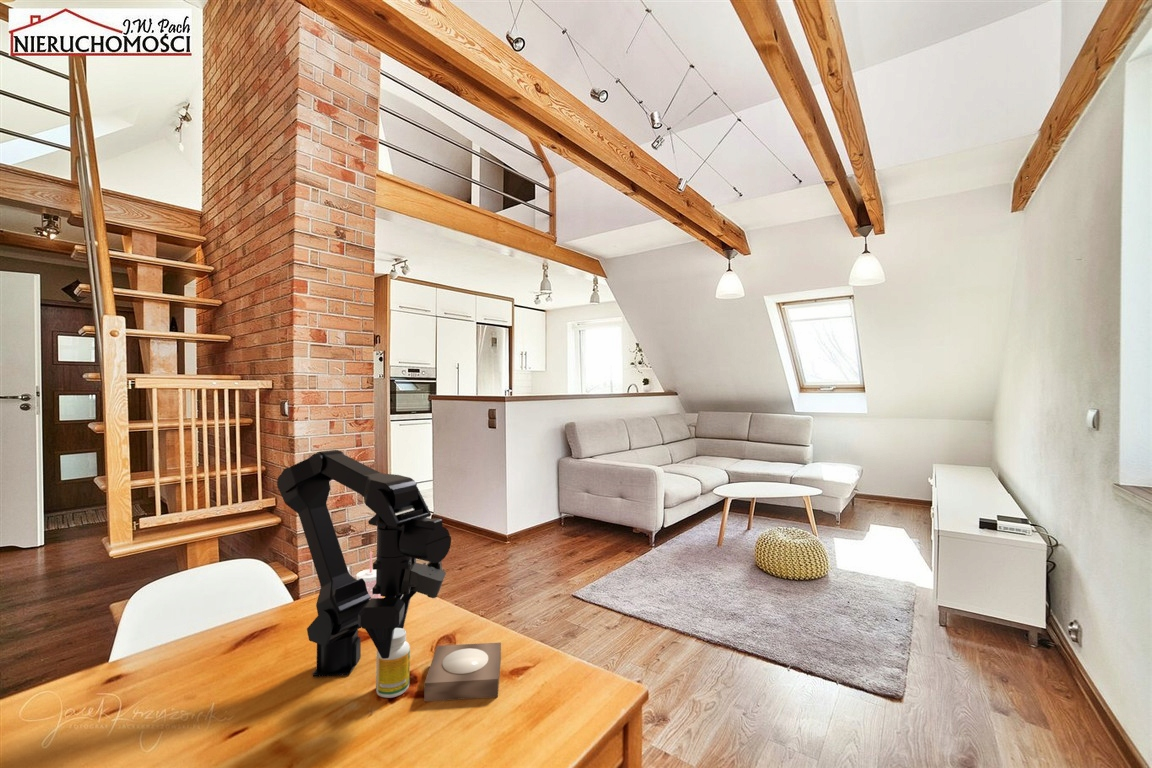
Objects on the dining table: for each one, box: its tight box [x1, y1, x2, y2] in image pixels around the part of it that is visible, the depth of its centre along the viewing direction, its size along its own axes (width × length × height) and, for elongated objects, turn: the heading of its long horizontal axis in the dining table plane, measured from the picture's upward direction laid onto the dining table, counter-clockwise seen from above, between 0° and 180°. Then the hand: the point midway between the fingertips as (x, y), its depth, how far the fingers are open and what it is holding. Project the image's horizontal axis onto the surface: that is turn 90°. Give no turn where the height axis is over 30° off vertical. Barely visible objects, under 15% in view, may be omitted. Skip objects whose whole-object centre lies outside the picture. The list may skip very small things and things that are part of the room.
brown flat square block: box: [423, 642, 502, 702], centre depth 87 cm, size 12×12×3 cm
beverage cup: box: [355, 550, 383, 600], centre depth 113 cm, size 6×6×14 cm
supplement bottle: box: [375, 627, 411, 699], centre depth 84 cm, size 5×5×10 cm
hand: (393, 643), depth 84 cm, fingers open, 9 cm apart
